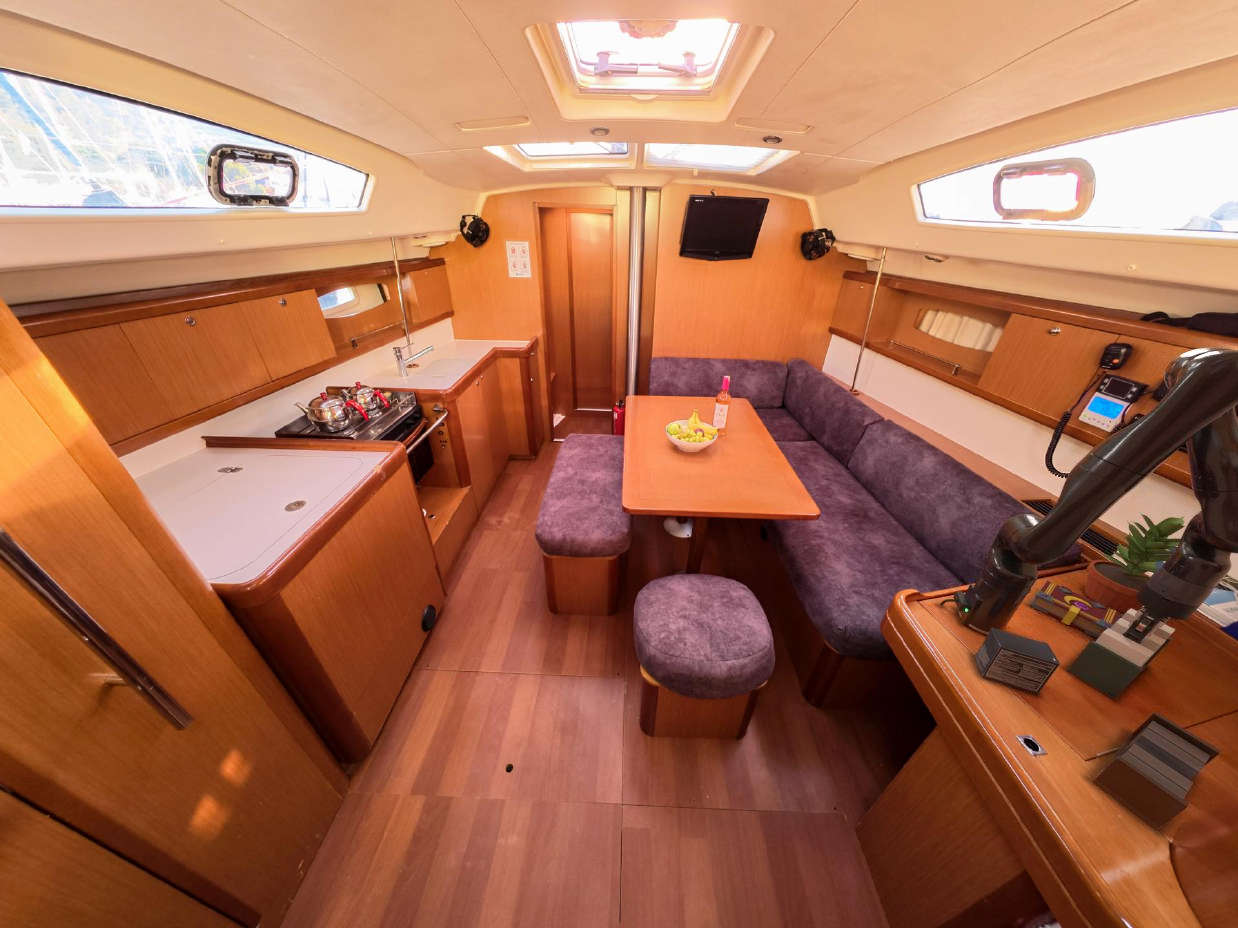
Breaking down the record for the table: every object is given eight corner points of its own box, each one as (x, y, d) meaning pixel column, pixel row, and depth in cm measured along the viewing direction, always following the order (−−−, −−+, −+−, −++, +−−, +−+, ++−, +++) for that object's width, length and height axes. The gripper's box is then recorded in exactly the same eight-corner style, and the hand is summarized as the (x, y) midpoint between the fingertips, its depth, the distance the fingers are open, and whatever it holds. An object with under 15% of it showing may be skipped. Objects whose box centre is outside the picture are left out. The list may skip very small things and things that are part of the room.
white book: (1128, 680, 93) (1161, 645, 87) (1087, 656, 98) (1115, 622, 93) (1133, 675, 94) (1166, 640, 88) (1092, 652, 99) (1120, 617, 94)
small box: (1026, 672, 95) (1049, 642, 90) (1038, 696, 90) (1063, 665, 85) (972, 655, 99) (991, 625, 94) (980, 677, 93) (1001, 646, 89)
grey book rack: (1156, 830, 68) (1187, 806, 65) (1092, 781, 75) (1117, 757, 71) (1192, 774, 76) (1221, 750, 73) (1131, 734, 83) (1155, 711, 79)
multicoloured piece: (1114, 699, 89) (1150, 661, 83) (1067, 670, 96) (1097, 632, 90) (1145, 666, 97) (1180, 629, 91) (1100, 641, 104) (1129, 604, 98)
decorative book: (1039, 590, 120) (1048, 577, 118) (1118, 627, 108) (1129, 613, 106) (1028, 606, 114) (1037, 593, 112) (1110, 646, 102) (1122, 633, 100)
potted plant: (1122, 588, 122) (1187, 505, 108) (1161, 625, 109) (1241, 536, 95) (1060, 575, 126) (1115, 494, 113) (1091, 609, 113) (1157, 523, 100)
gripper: (1159, 570, 91) (1115, 623, 99) (1136, 589, 85) (1091, 644, 93) (1212, 592, 85) (1161, 647, 93) (1191, 614, 79) (1139, 670, 87)
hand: (1126, 645), depth 93 cm, fingers open, 4 cm apart
